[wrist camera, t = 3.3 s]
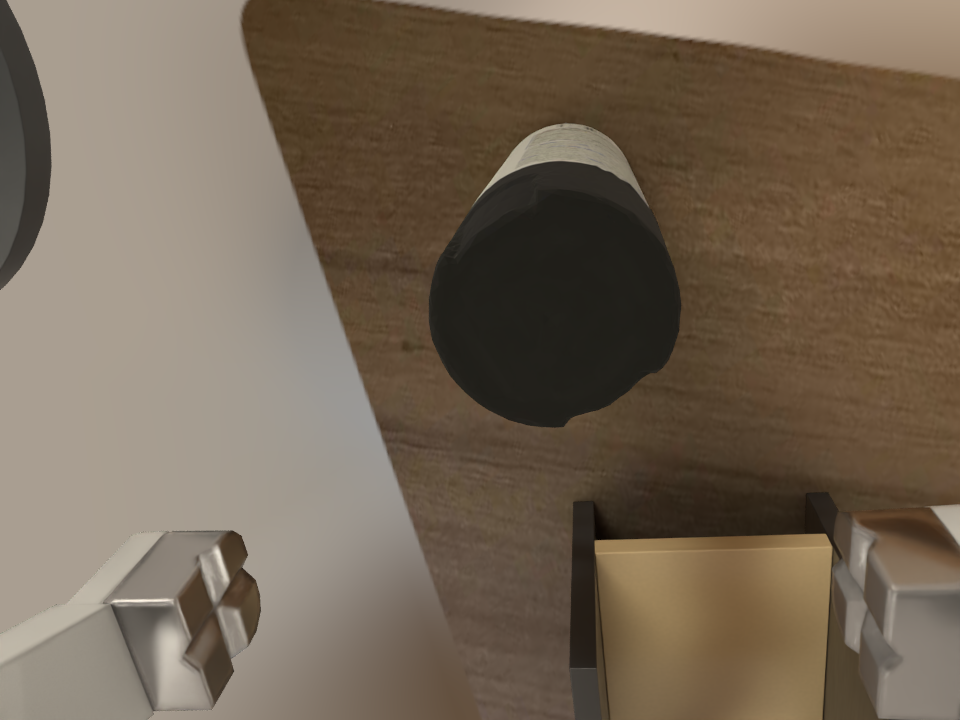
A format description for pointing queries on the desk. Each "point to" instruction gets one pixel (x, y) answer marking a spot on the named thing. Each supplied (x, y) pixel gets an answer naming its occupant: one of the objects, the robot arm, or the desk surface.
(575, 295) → the spray can
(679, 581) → the shelf
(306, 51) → the desk surface
